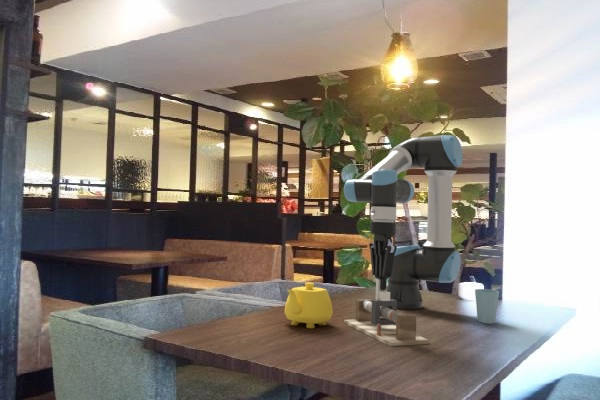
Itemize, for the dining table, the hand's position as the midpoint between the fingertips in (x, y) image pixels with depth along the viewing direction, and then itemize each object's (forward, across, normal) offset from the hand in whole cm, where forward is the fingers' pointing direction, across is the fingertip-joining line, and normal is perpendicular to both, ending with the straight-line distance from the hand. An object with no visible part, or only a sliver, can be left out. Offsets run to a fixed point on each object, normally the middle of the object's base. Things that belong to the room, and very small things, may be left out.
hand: (380, 300), depth 156 cm
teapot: (+9, -12, -19) cm, 25 cm away
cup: (+9, -6, +43) cm, 45 cm away
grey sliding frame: (+7, +2, 0) cm, 7 cm away
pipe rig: (+9, +2, 0) cm, 9 cm away
